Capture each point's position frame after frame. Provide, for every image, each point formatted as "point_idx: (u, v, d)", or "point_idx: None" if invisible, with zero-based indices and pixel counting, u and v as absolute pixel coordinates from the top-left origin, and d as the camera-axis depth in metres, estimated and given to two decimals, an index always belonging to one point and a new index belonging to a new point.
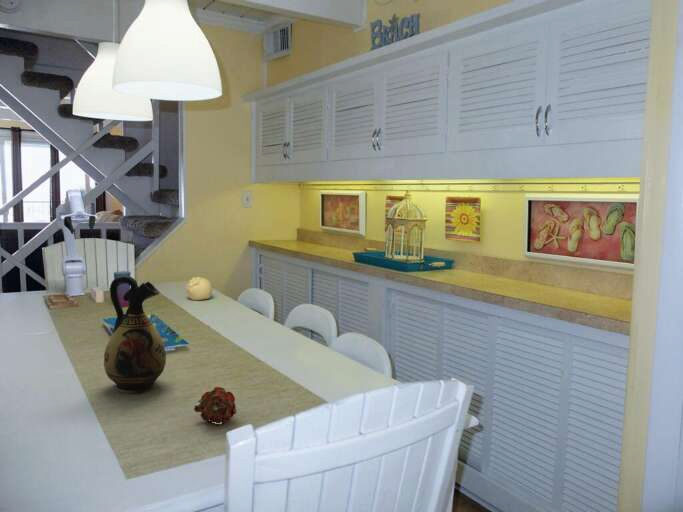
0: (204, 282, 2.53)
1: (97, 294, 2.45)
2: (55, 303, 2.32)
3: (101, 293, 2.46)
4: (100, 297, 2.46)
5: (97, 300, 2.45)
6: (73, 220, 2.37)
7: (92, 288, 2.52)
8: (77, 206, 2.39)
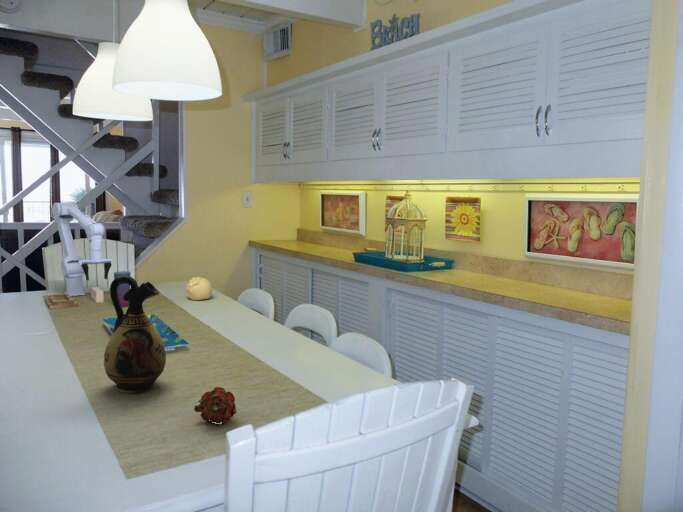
0: (204, 282, 2.53)
1: (97, 294, 2.45)
2: (55, 303, 2.32)
3: (101, 293, 2.46)
4: (100, 297, 2.46)
5: (97, 300, 2.45)
6: None
7: (92, 288, 2.52)
8: (96, 252, 2.45)
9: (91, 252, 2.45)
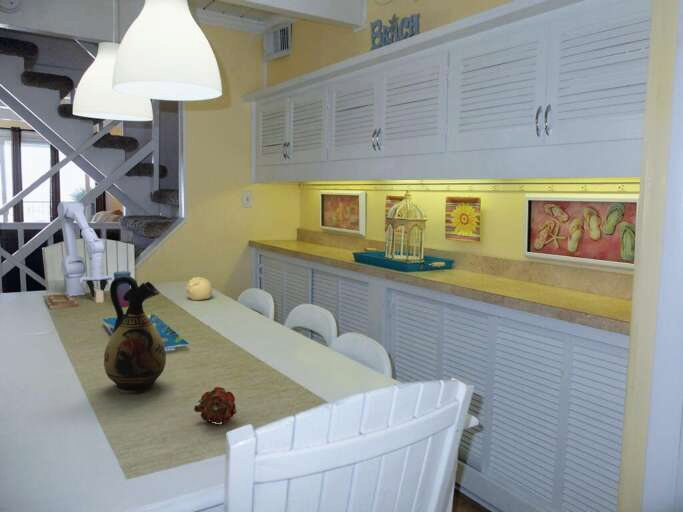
0: (204, 282, 2.53)
1: (97, 294, 2.45)
2: (55, 303, 2.32)
3: (101, 293, 2.46)
4: (100, 297, 2.46)
5: (97, 300, 2.45)
6: None
7: None
8: (96, 269, 2.46)
9: (92, 269, 2.46)
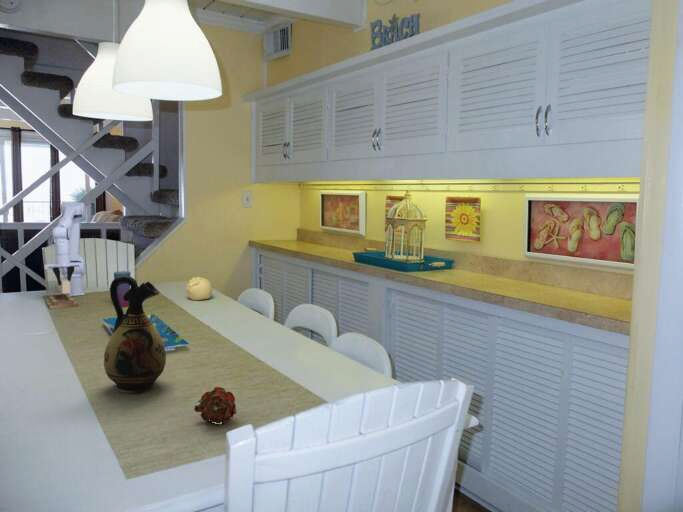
0: (204, 282, 2.53)
1: (63, 284, 2.35)
2: (55, 303, 2.32)
3: (67, 283, 2.36)
4: (66, 287, 2.36)
5: (63, 291, 2.36)
6: None
7: None
8: (62, 256, 2.37)
9: (58, 256, 2.37)
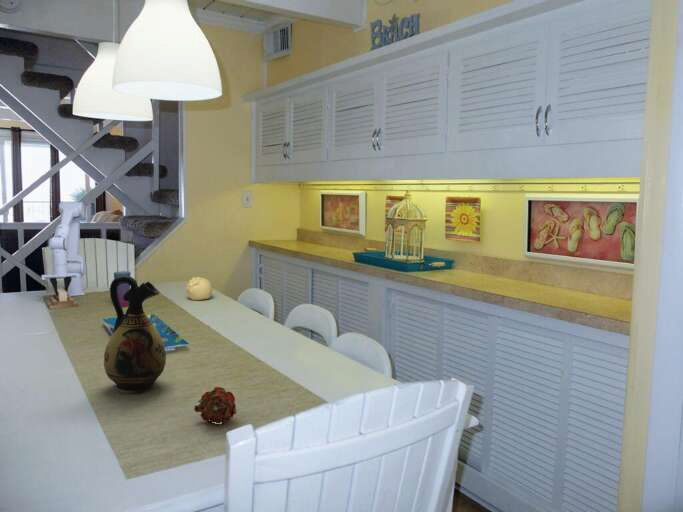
0: (204, 282, 2.53)
1: (60, 295, 2.35)
2: (55, 303, 2.32)
3: (64, 294, 2.36)
4: (63, 298, 2.36)
5: None
6: None
7: None
8: (60, 266, 2.36)
9: (55, 266, 2.36)
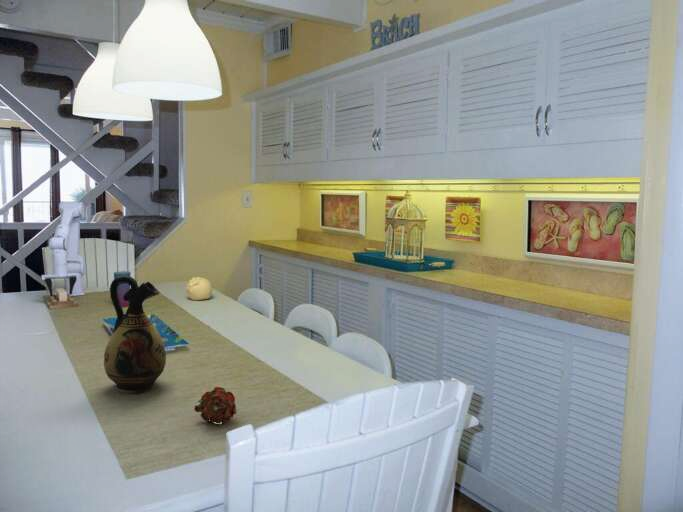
0: (204, 282, 2.53)
1: (60, 295, 2.35)
2: (55, 303, 2.32)
3: (64, 294, 2.36)
4: (63, 298, 2.36)
5: None
6: (54, 278, 2.38)
7: (56, 289, 2.42)
8: (60, 266, 2.36)
9: (55, 267, 2.36)
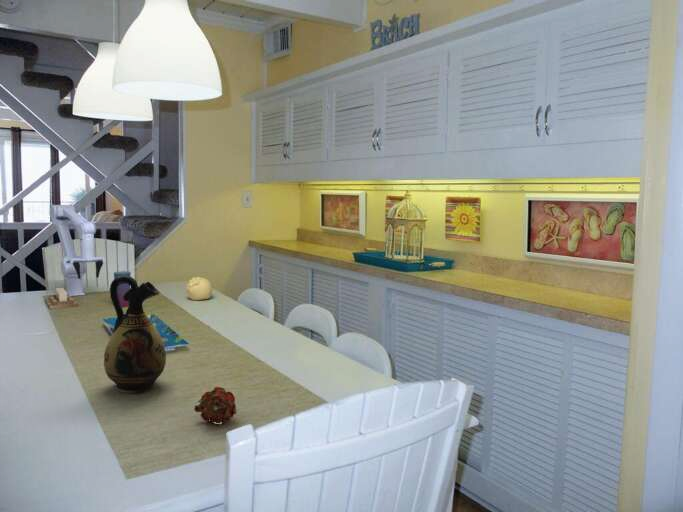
0: (204, 282, 2.53)
1: (60, 295, 2.35)
2: (55, 303, 2.32)
3: (64, 294, 2.36)
4: (63, 298, 2.36)
5: None
6: None
7: (56, 289, 2.42)
8: (87, 250, 2.46)
9: (82, 250, 2.46)
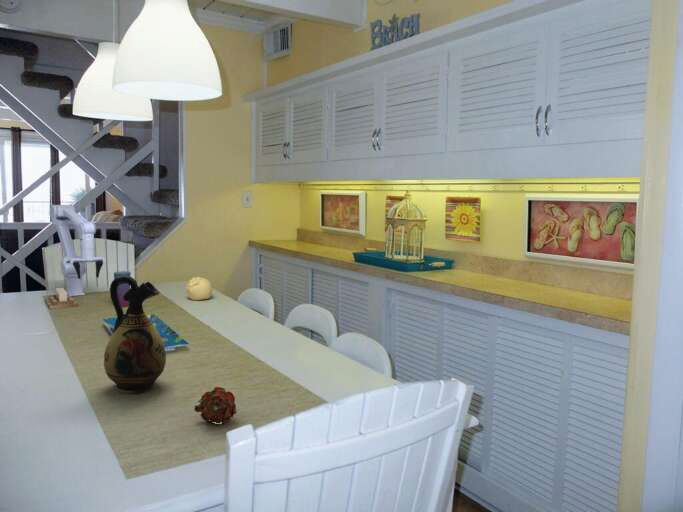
0: (204, 282, 2.53)
1: (60, 295, 2.35)
2: (55, 303, 2.32)
3: (64, 294, 2.36)
4: (63, 298, 2.36)
5: None
6: None
7: (56, 289, 2.42)
8: (87, 250, 2.46)
9: (83, 250, 2.46)
